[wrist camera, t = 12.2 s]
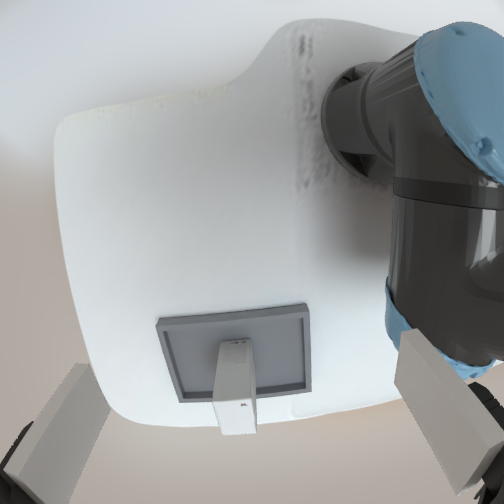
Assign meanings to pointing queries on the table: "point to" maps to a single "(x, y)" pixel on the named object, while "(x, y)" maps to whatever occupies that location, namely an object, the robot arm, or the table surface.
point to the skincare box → (235, 388)
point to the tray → (237, 328)
